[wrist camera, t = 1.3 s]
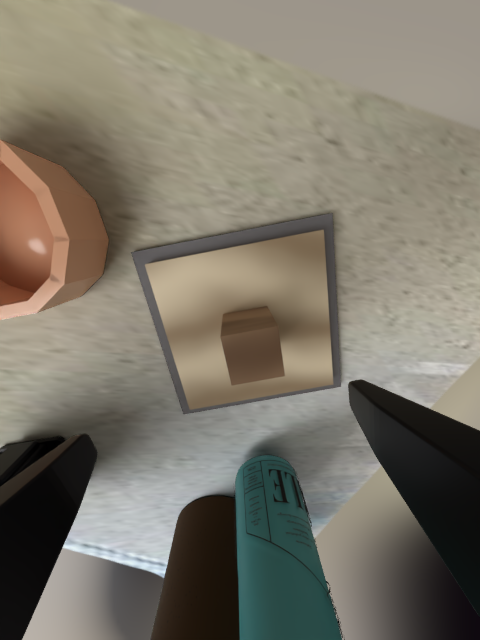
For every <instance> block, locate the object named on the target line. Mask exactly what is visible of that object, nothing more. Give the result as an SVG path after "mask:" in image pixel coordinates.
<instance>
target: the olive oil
mask: <svg viewBox="0 0 480 640" xmlns="http://www.w3.org/2000/svg"><path fill="white" fill-rule="evenodd" d="M234 500H235V501H234ZM234 502H235V507H234ZM234 509H235V510H234ZM234 511H235V512H234ZM235 514H236V499H234V498H230V497H225V496H210V497H205V498H201V499H198V500H196V501H194V502H192V503H190V504H189V505H188V506H186V507H185V508H184V509H183V510H182V511H181V513H180V515H179V517H178V520H177V524H176V528H175V533H174V537H173V542H172V547H171V551H170V556H169V560H168V565H167V568H166V573H165V577H164V582H163V586H162V591H161V595H160V599H159V604H158V608H157V612H156V616H155V621H154V625H153V629H152V634H151V638H150V640H240V631H239V585H238V577H237V576H238V566H237V549H236V548H237V529H236V524H234V523H236V520H235V519H236V515H235ZM234 515H235V516H234ZM235 535H236V536H235ZM235 542H236V543H235ZM235 553H236V554H235ZM235 564H236V565H235ZM236 571H237V572H236Z"/></svg>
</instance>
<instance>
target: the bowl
mask: <svg viewBox="0 0 480 640" xmlns="http://www.w3.org/2000/svg"><path fill="white" fill-rule="evenodd" d="M108 243H109V238H108V236H107V233H106V230H105V227H104V224H103V221H102V218H101V215H100V213H99V210H98V207H97V204H96V201H95V200H94V199H93V198H92V197H91V196H90V195H89V194H88V192H87V191H86V190H85V189H84V188H83V187H82V186H81V185H80V184H79V183H78V182H77V181H76V180H75V179H74V178H73V177H72V176H71V175H70V174H69V173H68V172H67V171H66V169H65V168H64V167H62V166H60V165H58V164H55V163H53V162H51V161H48V160H46V159H44V158H42V157H39V156H37V155H35V154H32V153H30V152H28V151H25V150H23V149H21V148H19V147H16V146H14V145H12V144H9V143H7V142H5V141H3V140H0V320H2V319H7V318H12V317H18V316H23V315H28V314H33V313H38V312H41V311H43V310H46V309H49V308H51V307H54V306H57V305H59V304H62V303H65V302H67V301H70V300H73V299H76V298H78V297H81V296H82V295H83V294H84V293H85V292H86V291H87V290H88V289H89V288H90V287H91V286H92V285H93V284H94V283H95V282H96V281H97V280H98V279H99V278H100V277H101V276H102V275H103V272H104V266H105V261H106V255H107V249H108Z"/></svg>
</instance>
